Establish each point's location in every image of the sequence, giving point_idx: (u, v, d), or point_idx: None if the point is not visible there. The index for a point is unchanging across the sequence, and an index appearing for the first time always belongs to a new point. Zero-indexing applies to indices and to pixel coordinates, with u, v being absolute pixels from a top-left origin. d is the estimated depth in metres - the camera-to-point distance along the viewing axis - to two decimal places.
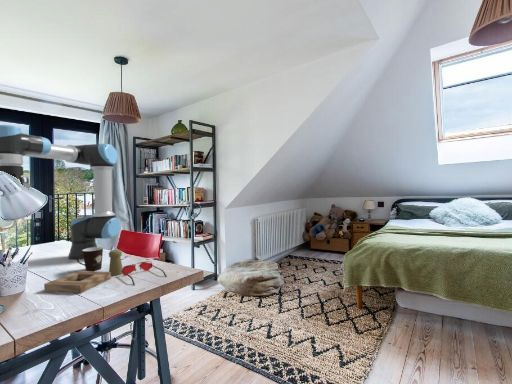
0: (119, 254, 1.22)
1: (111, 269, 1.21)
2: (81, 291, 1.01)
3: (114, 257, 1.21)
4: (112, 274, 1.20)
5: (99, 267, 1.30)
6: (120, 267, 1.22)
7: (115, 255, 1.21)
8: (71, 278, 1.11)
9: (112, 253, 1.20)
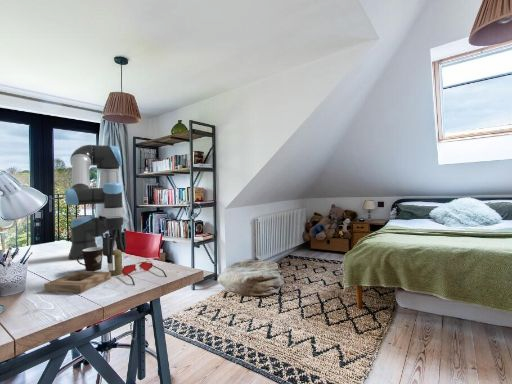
0: (119, 254, 1.22)
1: None
2: (81, 291, 1.01)
3: (114, 257, 1.21)
4: (112, 274, 1.20)
5: (99, 267, 1.30)
6: (120, 267, 1.22)
7: (115, 255, 1.21)
8: (71, 278, 1.11)
9: None
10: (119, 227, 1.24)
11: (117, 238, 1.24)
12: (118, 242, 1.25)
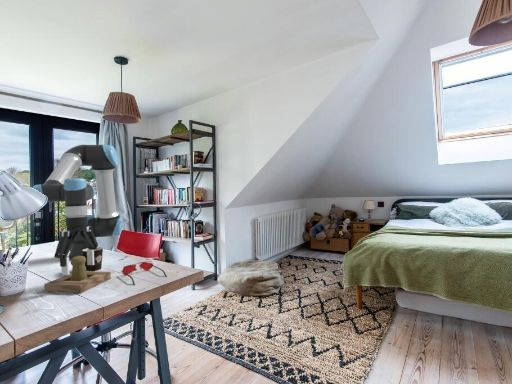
0: (82, 261, 1.09)
1: (73, 278, 1.08)
2: (81, 291, 1.01)
3: (76, 265, 1.08)
4: None
5: (99, 267, 1.30)
6: (84, 276, 1.09)
7: (77, 262, 1.08)
8: None
9: (74, 260, 1.08)
10: (83, 229, 1.11)
11: (83, 238, 1.13)
12: (86, 241, 1.14)
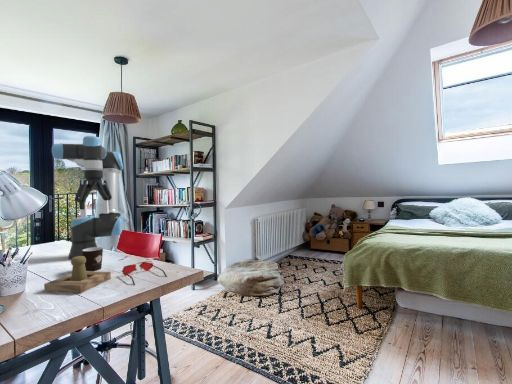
0: (82, 261, 1.09)
1: (73, 278, 1.08)
2: (81, 291, 1.01)
3: (76, 265, 1.08)
4: None
5: (99, 267, 1.30)
6: (84, 276, 1.10)
7: (77, 262, 1.08)
8: None
9: (74, 260, 1.08)
10: (98, 181, 1.29)
11: (99, 190, 1.30)
12: (101, 192, 1.31)
